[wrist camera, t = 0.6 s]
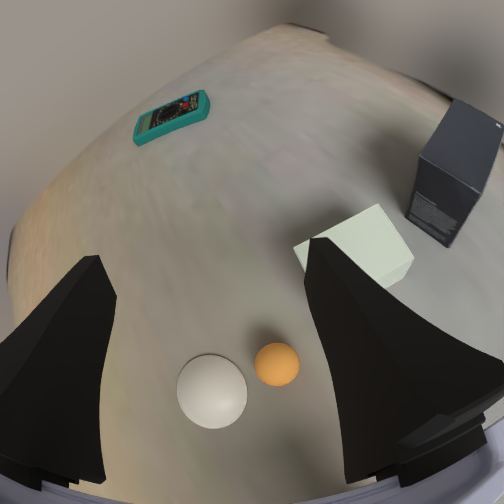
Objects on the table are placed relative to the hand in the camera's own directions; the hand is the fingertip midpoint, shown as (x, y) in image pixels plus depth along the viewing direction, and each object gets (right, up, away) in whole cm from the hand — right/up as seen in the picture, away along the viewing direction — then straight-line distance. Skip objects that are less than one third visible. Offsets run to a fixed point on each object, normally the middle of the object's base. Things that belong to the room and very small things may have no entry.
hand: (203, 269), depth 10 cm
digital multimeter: (-13, +24, +38) cm, 47 cm away
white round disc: (-3, -14, +17) cm, 22 cm away
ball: (+4, -9, +15) cm, 18 cm away
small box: (+23, +6, +17) cm, 30 cm away
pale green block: (+12, -1, +18) cm, 21 cm away
